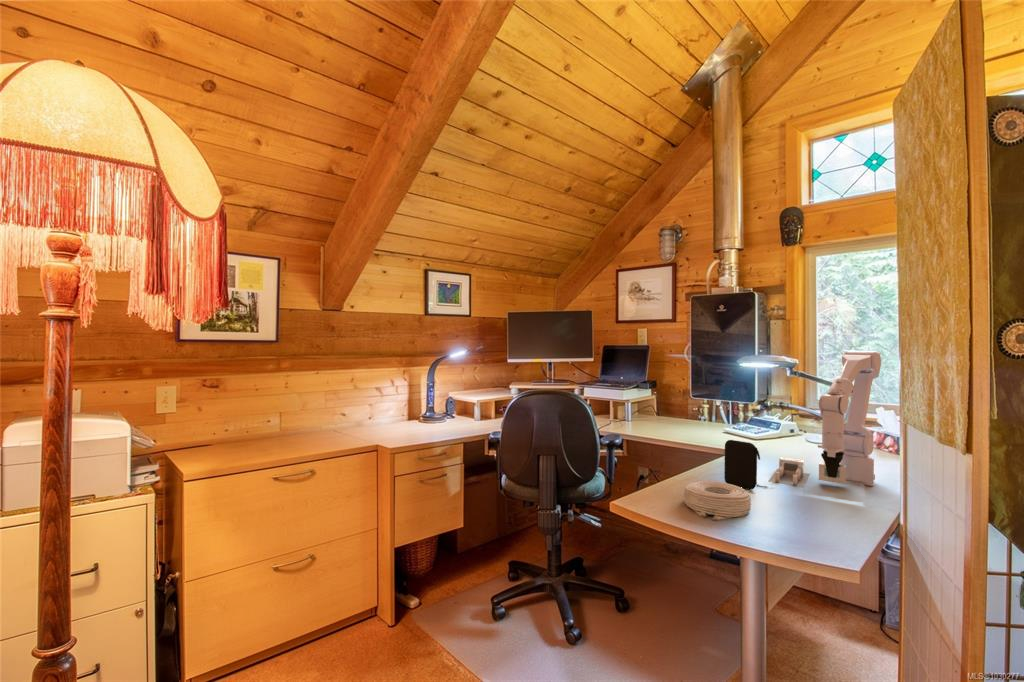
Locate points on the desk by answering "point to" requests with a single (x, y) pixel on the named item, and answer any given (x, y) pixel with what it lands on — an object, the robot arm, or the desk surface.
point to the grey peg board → (789, 478)
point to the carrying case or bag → (741, 464)
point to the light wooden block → (823, 476)
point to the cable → (717, 499)
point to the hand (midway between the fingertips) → (832, 475)
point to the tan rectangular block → (791, 465)
